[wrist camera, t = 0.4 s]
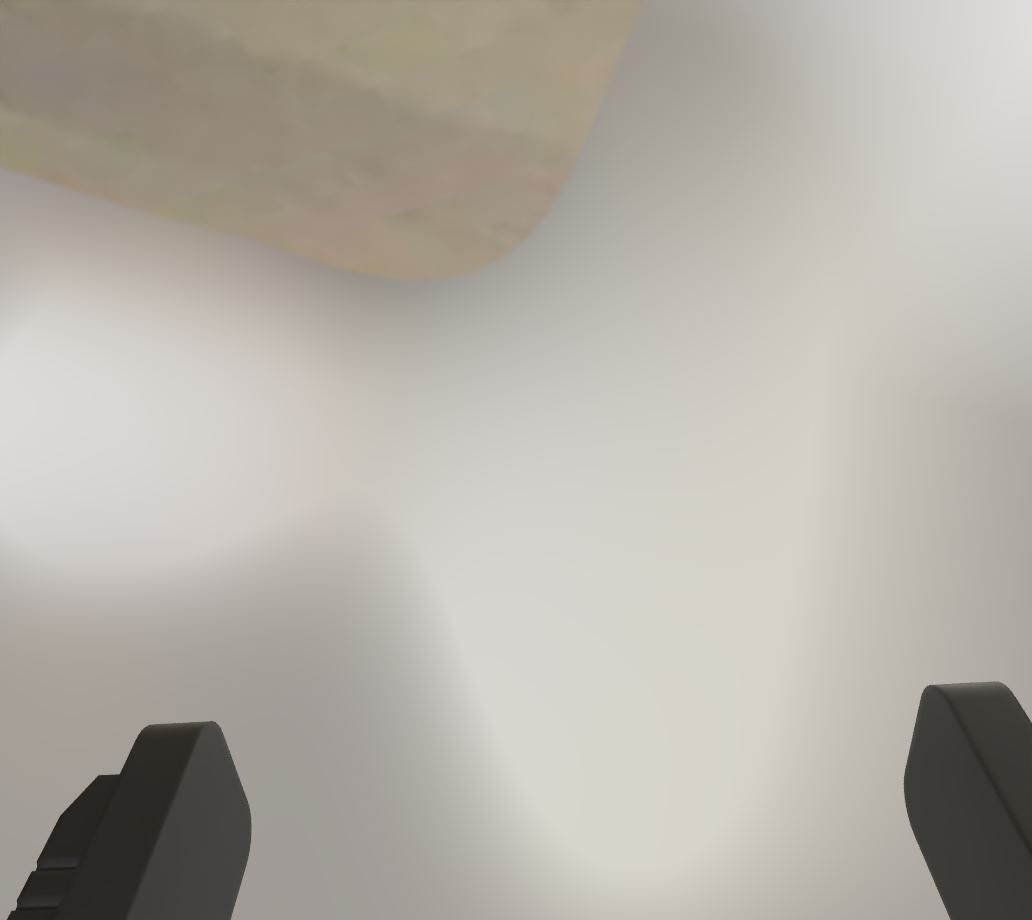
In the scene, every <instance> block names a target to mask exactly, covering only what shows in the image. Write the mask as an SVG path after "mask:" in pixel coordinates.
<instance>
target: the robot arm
mask: <svg viewBox="0 0 1032 920" xmlns="http://www.w3.org/2000/svg"><path fill="white" fill-rule="evenodd" d="M904 794H905V802H906V808H907V813H908V817H909V821H910V824H911V827H912V830H913V833H914V835H915V838H916V840H917V842H918V845H919V847H920V849H921V852H922V854H923V856H924V859H925V861H926V863H927V866H928V868H929V870H930V872H931V875H932V877H933V880H934V882H935V884H936V887H937V889H938V891H939V893H940V896H941V898H942V900H943V903H944V905H945V908H946V910H947V912H948V915H949V917H950V919H951V920H1032V723H1031V721H1030V720H1029V718H1028V716H1027V715H1026V713H1025V711H1024V710H1023V708H1022V707H1021V705H1020V704H1019V702H1018V700H1017V699H1016V697H1015V696H1014V694H1013V693H1012V692H1011V691H1010V689H1009V688H1008V687H1007V686H1006V685H1004V684H1003V683H1000V682H980V683H960V684H943V685H942V684H941V685H929V686H927V687H926V688H925V689H924V691H923V693H922V696H921V700H920V705H919V709H918V714H917V719H916V723H915V728H914V733H913V738H912V742H911V746H910V751H909V756H908V760H907V765H906V769H905V776H904ZM250 843H251V814H250V809H249V805H248V801H247V798H246V796H245V793H244V790H243V787H242V785H241V782H240V779H239V777H238V773H237V771H236V768H235V765H234V762H233V760H232V757H231V754H230V751H229V749H228V746H227V743H226V740H225V738H224V735H223V732H222V730H221V728H220V727H219V725H218V724H217V723H216V722H213V721H210V722H191V723H173V724H154V725H149V726H147V727H145V728H144V729H143V730H142V731H141V732H140V734H139V735H138V737H137V739H136V741H135V743H134V745H133V747H132V749H131V751H130V754H129V756H128V758H127V760H126V762H125V764H124V767H123V768H122V771H121V773H120V774H118V775H99V776H97V778H96V779H95V780H94V781H93V782H92V783H91V784H90V785H89V786H88V787H87V788H86V789H85V790H84V791H83V792H82V793H81V795H80V796H79V797H78V798H77V799H76V800H75V801H74V802H73V803H72V804H71V805H70V806H69V807H68V808H67V809H66V810H65V811H64V812H63V814H62V815H61V816H60V818H59V819H58V822H57V823H56V825H55V827H54V829H53V831H52V833H51V835H50V837H49V839H48V841H47V843H46V845H45V847H44V849H43V851H42V853H41V854H40V856H39V858H38V860H37V869H36V871H32V872H31V874H30V876H29V878H28V880H27V882H26V884H25V886H24V888H23V890H22V891H21V893H20V895H19V897H18V899H17V908H16V910H15V911H11V913H10V915H9V917H8V919H7V920H230V919H231V916H232V913H233V909H234V906H235V902H236V899H237V895H238V892H239V889H240V885H241V881H242V878H243V875H244V871H245V868H246V864H247V860H248V856H249V851H250Z"/></svg>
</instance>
